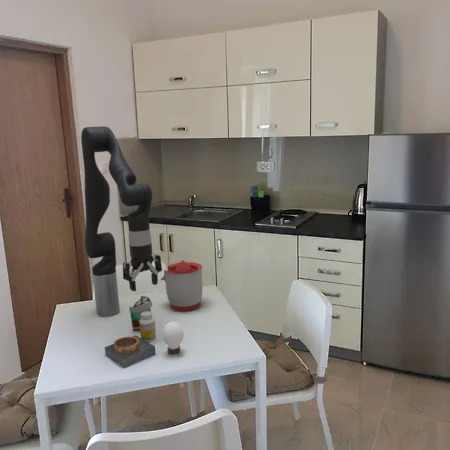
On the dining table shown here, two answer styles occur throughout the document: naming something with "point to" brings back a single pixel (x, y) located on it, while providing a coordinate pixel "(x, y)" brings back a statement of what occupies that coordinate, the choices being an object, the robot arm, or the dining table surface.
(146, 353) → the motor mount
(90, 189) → the robot arm
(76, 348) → the dining table surface
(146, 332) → the supplement bottle
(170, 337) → the light bulb
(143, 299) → the food container
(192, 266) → the citrus juicer
